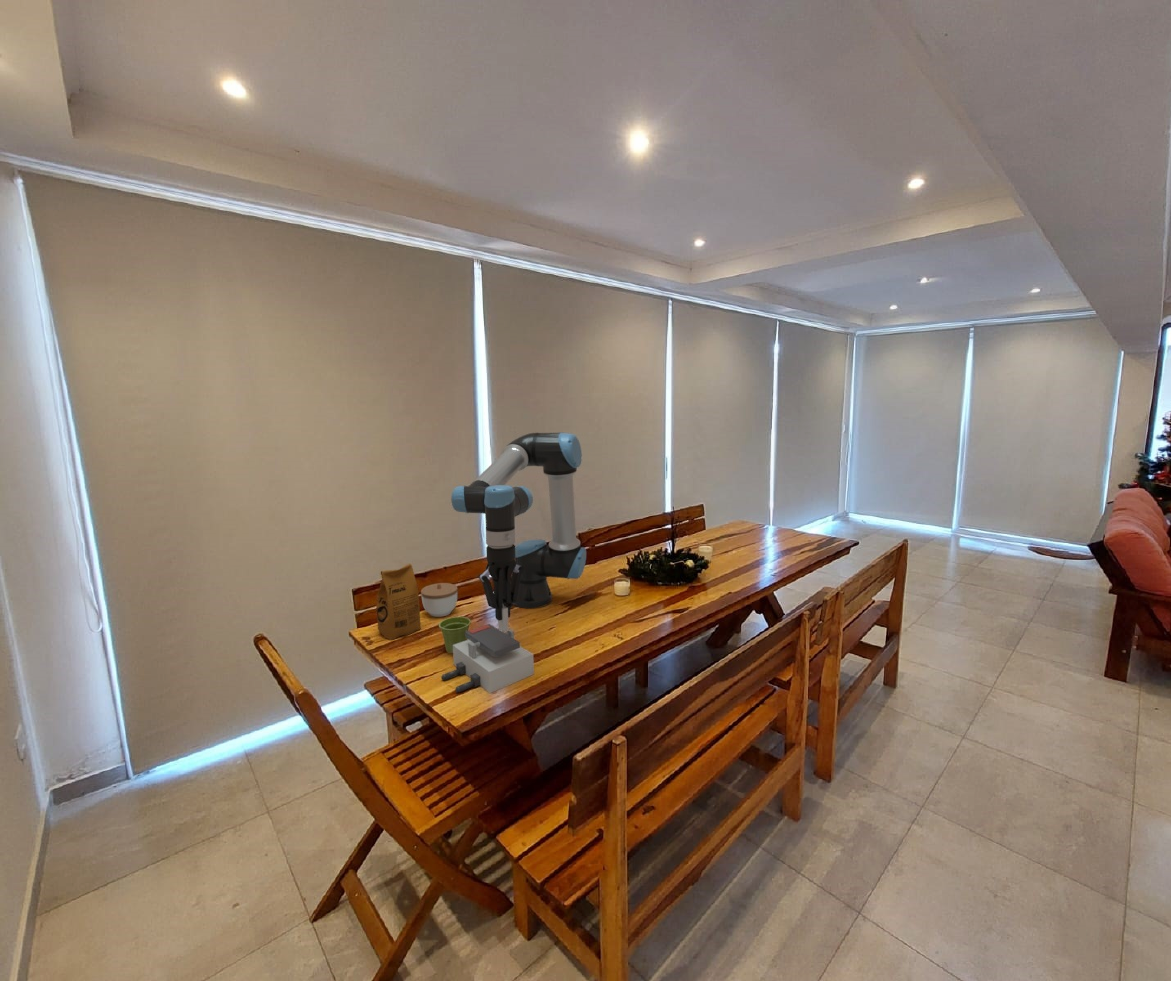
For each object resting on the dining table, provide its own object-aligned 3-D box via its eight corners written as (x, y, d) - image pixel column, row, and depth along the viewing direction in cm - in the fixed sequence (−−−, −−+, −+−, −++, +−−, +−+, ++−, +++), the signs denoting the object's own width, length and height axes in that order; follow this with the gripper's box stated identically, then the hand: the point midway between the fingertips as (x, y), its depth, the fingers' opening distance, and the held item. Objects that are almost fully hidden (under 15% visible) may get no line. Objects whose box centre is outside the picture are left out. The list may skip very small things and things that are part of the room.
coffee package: (374, 633, 168) (369, 569, 164) (410, 621, 177) (405, 560, 173) (388, 642, 161) (383, 576, 157) (424, 630, 170) (420, 566, 166)
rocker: (493, 627, 152) (492, 622, 152) (523, 646, 141) (523, 640, 140) (461, 638, 146) (460, 632, 145) (490, 659, 134) (490, 652, 133)
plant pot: (434, 649, 156) (433, 622, 155) (461, 639, 163) (460, 613, 162) (450, 660, 150) (448, 632, 148) (477, 649, 156) (476, 622, 155)
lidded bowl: (419, 610, 186) (417, 581, 184) (454, 603, 192) (452, 575, 190) (425, 623, 175) (423, 592, 173) (462, 616, 181) (460, 586, 179)
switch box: (495, 649, 156) (494, 618, 155) (533, 674, 142) (533, 641, 140) (432, 672, 143) (430, 639, 141) (467, 703, 128) (465, 667, 127)
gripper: (486, 552, 126) (489, 642, 130) (529, 543, 135) (531, 627, 138) (471, 546, 132) (474, 632, 135) (513, 538, 140) (515, 619, 144)
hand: (503, 629), depth 137 cm, fingers closed
